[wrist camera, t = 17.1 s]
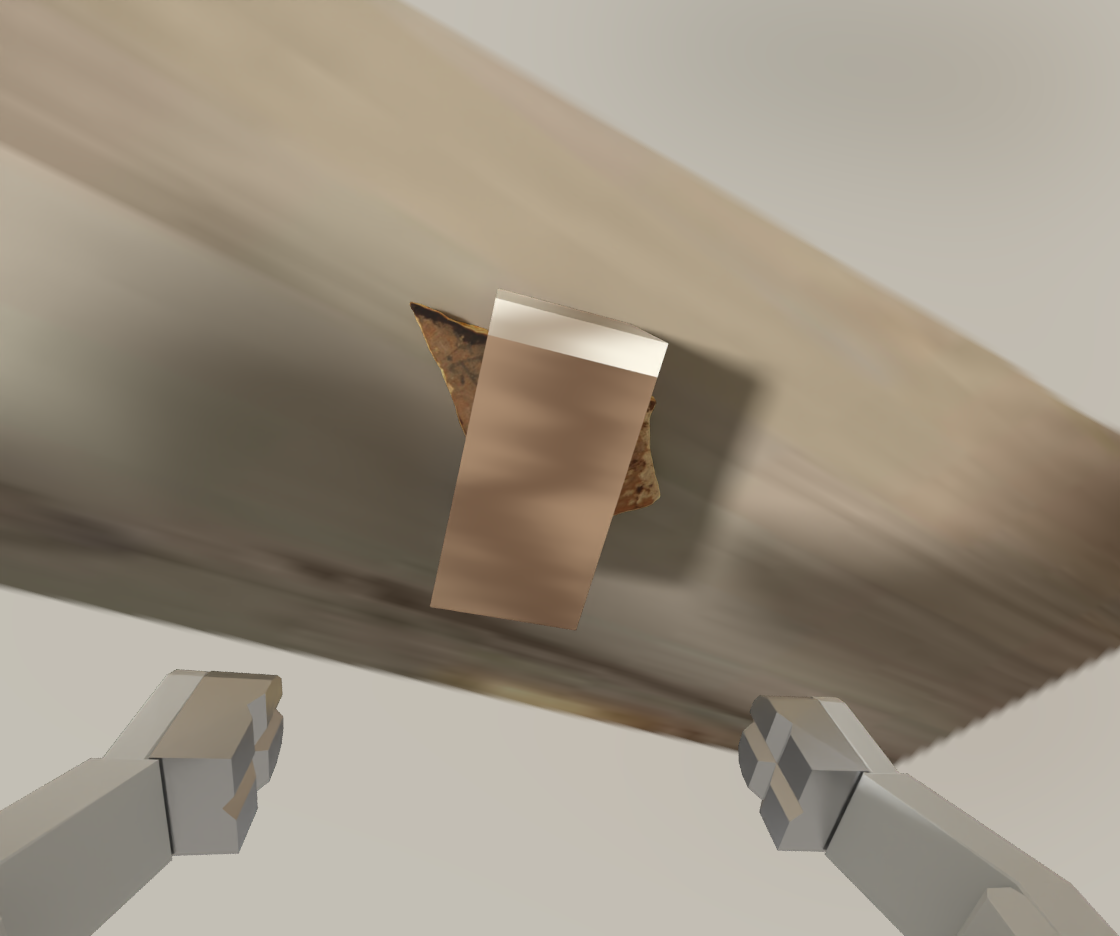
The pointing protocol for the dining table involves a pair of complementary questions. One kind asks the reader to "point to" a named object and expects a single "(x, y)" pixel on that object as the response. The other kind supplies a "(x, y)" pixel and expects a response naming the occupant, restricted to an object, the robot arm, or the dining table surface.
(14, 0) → the dining table surface
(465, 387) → the shard
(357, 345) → the dining table surface
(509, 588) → the wooden block
